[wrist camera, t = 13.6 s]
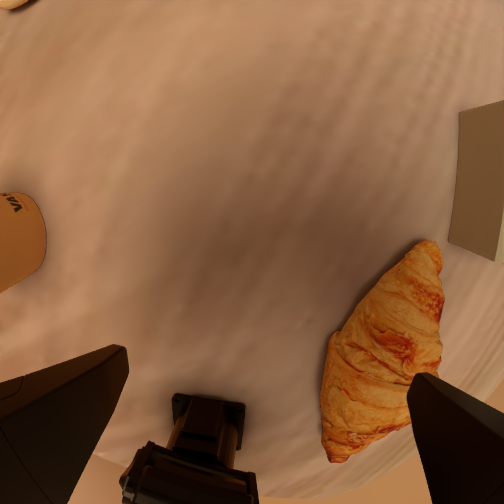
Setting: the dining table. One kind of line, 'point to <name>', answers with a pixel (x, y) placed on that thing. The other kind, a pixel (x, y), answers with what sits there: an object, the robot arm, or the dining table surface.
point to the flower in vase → (11, 4)
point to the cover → (480, 183)
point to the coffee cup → (20, 238)
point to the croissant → (382, 354)
